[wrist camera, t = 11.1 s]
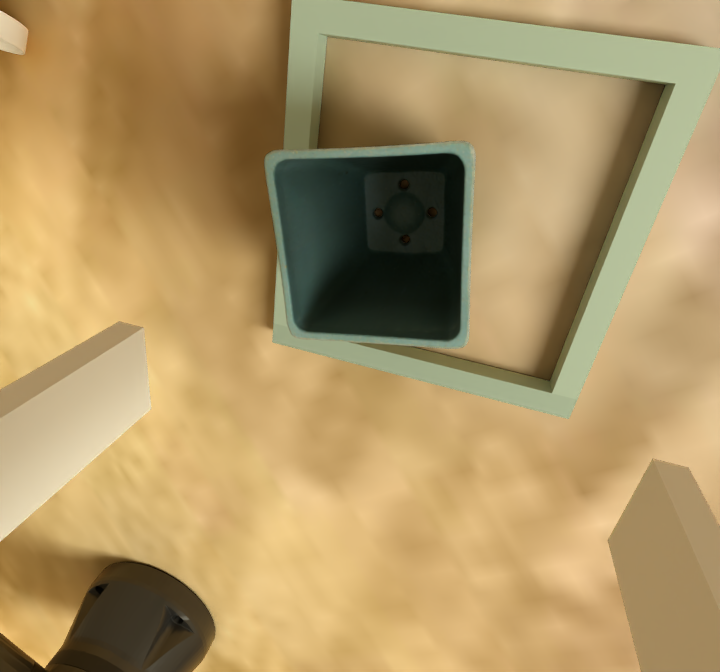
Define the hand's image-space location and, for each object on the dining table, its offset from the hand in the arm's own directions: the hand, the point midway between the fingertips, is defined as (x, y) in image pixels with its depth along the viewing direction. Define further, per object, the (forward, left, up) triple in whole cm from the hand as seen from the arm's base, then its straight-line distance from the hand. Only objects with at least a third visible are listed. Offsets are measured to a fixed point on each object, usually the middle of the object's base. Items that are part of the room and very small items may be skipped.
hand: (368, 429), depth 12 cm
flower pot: (-3, +1, -19) cm, 19 cm away
